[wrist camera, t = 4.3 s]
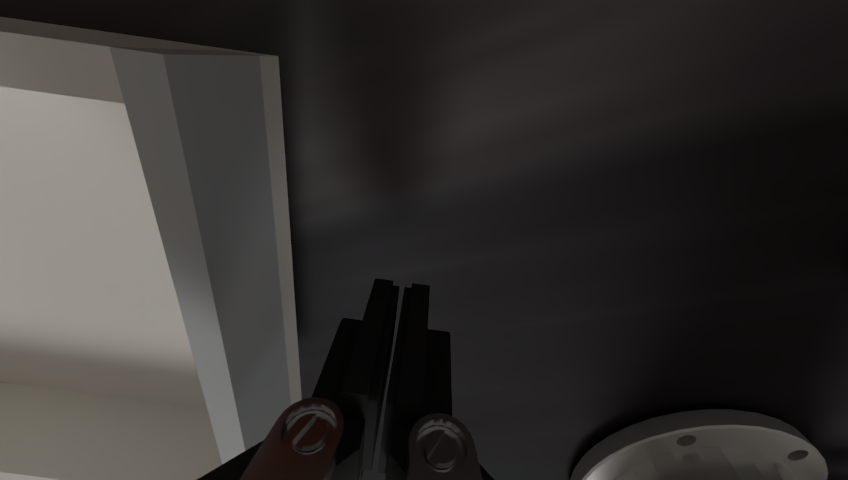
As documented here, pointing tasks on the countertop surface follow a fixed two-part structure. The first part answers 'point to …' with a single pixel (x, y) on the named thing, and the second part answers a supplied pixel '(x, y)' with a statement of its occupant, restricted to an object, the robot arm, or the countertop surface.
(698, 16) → the countertop surface
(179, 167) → the white storage bin
